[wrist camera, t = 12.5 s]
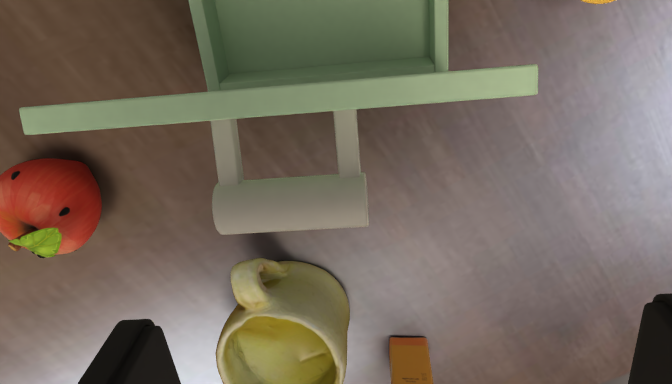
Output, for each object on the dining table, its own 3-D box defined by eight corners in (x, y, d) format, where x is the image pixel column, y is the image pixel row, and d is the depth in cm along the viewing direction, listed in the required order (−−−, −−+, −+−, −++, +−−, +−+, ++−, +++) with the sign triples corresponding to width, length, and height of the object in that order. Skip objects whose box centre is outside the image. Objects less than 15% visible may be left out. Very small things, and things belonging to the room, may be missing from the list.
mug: (380, 362, 42) (333, 449, 33) (274, 344, 46) (207, 417, 37) (369, 224, 39) (314, 280, 30) (256, 218, 43) (179, 266, 34)
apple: (87, 235, 40) (7, 320, 31) (15, 176, 38) (-93, 248, 29) (147, 180, 37) (79, 255, 29) (73, 113, 35) (-26, 172, 26)
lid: (17, 107, 14) (51, 264, 15) (539, 64, 13) (538, 238, 14) (206, 92, 30) (216, 170, 31) (449, 72, 29) (451, 153, 30)
